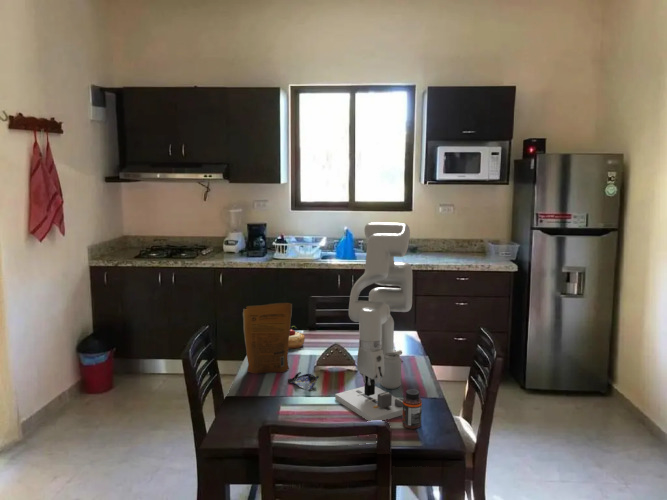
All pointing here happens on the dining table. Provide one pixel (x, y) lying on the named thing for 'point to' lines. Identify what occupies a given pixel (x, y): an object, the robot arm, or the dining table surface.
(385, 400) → the fader knob
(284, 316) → the pancake mix bag
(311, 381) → the snack package
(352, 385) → the dining table surface
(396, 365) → the can
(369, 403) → the console board
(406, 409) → the supplement bottle
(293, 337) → the pastry
